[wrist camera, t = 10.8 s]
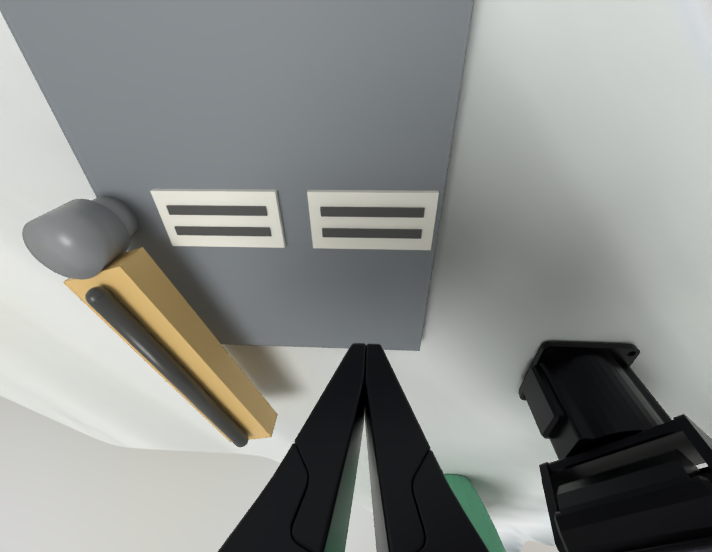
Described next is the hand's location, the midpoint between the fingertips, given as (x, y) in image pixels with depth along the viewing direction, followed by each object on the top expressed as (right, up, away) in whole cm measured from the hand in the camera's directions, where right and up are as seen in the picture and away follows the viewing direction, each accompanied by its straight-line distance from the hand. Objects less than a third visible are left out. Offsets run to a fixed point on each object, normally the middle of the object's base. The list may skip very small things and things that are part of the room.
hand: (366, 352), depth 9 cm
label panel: (-5, +6, +8) cm, 11 cm away
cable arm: (-11, -2, +11) cm, 16 cm away
